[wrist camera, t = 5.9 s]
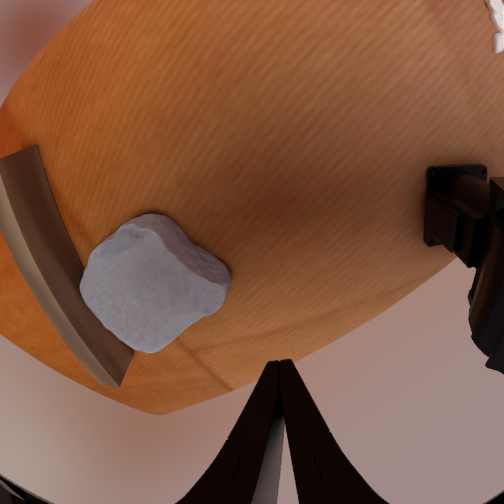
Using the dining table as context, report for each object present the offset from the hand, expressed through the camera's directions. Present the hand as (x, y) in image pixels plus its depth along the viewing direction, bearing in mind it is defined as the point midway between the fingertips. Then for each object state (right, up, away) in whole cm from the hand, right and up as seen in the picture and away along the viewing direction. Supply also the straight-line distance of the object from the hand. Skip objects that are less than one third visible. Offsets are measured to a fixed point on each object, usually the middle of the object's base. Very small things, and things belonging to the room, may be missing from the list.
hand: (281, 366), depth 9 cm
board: (-18, +3, +13) cm, 23 cm away
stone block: (-10, +2, +14) cm, 17 cm away
